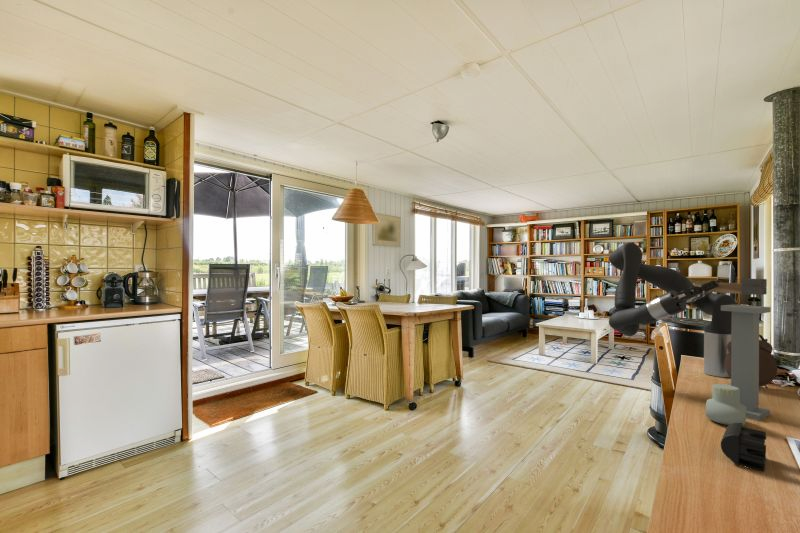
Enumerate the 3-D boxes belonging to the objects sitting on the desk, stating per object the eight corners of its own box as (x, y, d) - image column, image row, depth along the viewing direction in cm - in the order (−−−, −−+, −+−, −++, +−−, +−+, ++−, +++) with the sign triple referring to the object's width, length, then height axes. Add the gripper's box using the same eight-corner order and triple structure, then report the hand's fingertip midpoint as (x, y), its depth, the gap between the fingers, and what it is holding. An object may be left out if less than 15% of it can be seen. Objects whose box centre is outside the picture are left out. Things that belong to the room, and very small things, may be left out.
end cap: (725, 447, 93) (725, 419, 93) (765, 457, 88) (766, 428, 88) (720, 461, 86) (720, 431, 86) (764, 473, 81) (764, 441, 81)
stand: (731, 405, 122) (732, 304, 122) (769, 414, 114) (770, 307, 114) (719, 410, 117) (720, 305, 117) (758, 420, 109) (759, 308, 110)
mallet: (700, 290, 128) (700, 277, 128) (766, 294, 114) (766, 279, 114) (692, 291, 125) (692, 277, 125) (759, 294, 111) (759, 279, 111)
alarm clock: (762, 385, 145) (762, 331, 145) (779, 391, 137) (779, 335, 137) (720, 383, 146) (720, 330, 146) (735, 389, 139) (735, 333, 139)
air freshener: (744, 432, 101) (744, 394, 101) (704, 423, 107) (704, 387, 107) (746, 421, 109) (746, 385, 109) (709, 413, 115) (709, 379, 115)
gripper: (649, 296, 132) (702, 272, 119) (669, 295, 139) (720, 272, 127) (661, 316, 129) (717, 294, 116) (681, 314, 136) (735, 292, 123)
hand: (718, 282), depth 121 cm, fingers closed on mallet, 3 cm apart
